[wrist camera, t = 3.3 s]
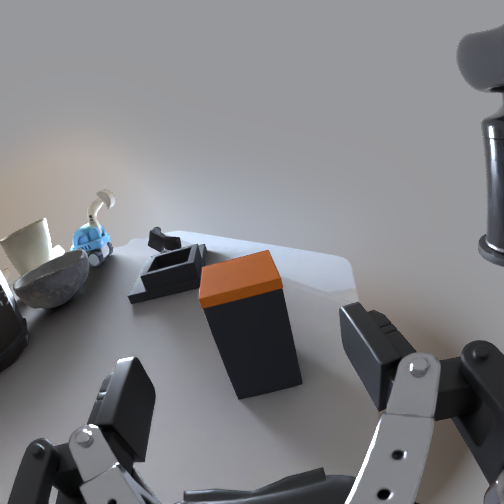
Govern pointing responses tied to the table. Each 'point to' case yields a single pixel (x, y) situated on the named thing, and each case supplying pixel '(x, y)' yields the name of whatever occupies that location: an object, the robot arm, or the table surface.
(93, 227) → the toy excavator
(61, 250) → the stone
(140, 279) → the dark square socket base
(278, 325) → the black and orange block
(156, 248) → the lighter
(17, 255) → the plant pot
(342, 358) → the table surface
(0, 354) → the barrel
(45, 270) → the bowl
